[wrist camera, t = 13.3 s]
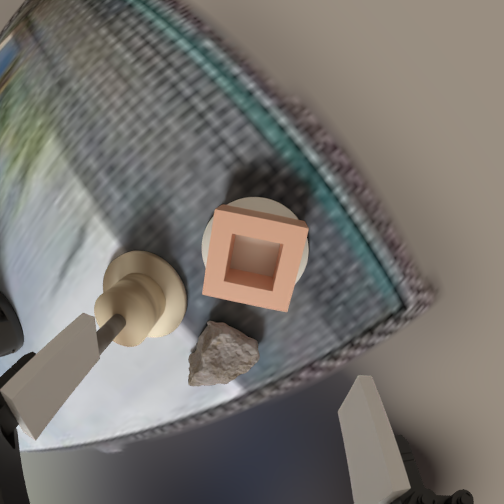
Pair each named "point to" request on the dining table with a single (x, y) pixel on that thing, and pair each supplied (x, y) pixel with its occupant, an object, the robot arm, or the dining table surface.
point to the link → (246, 283)
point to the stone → (221, 355)
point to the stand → (139, 300)
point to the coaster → (256, 241)
